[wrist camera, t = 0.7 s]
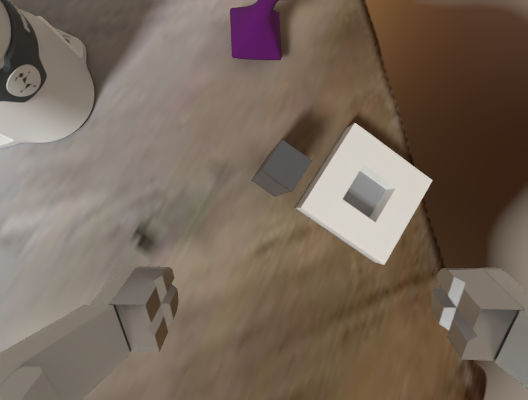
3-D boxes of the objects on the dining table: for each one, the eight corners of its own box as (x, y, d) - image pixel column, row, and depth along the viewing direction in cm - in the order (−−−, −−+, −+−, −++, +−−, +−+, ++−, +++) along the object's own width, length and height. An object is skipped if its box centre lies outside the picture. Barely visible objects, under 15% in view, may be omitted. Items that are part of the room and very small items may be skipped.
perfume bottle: (274, 26, 46) (310, -93, 28) (277, 70, 45) (314, -21, 28) (229, 23, 45) (236, -104, 27) (231, 68, 44) (239, -29, 26)
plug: (251, 180, 44) (261, 169, 33) (266, 157, 45) (282, 139, 34) (274, 196, 44) (292, 190, 34) (289, 173, 45) (312, 160, 34)
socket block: (294, 208, 45) (300, 207, 41) (344, 129, 47) (354, 122, 43) (372, 261, 47) (384, 265, 43) (417, 182, 49) (432, 180, 45)
